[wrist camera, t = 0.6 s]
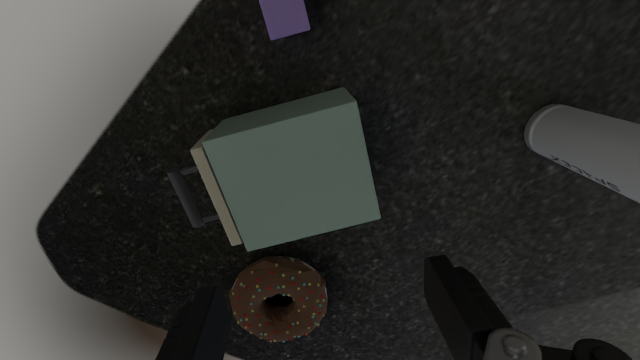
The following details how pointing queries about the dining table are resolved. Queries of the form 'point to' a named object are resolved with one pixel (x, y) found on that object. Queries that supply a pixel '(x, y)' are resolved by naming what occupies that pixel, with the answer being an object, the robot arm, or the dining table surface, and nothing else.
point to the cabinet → (294, 169)
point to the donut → (279, 279)
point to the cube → (284, 17)
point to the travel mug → (589, 145)
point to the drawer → (213, 190)
